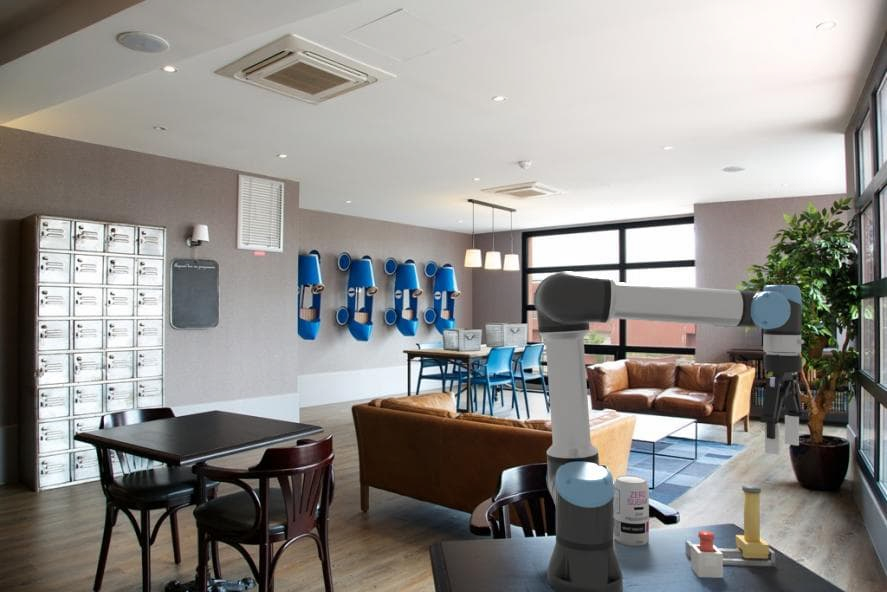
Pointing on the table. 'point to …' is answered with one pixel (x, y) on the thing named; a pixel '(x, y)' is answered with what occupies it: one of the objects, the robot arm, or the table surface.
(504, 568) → the table surface
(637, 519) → the supplement can
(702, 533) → the button
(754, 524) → the sliding lever handle
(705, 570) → the white button housing
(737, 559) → the rail
